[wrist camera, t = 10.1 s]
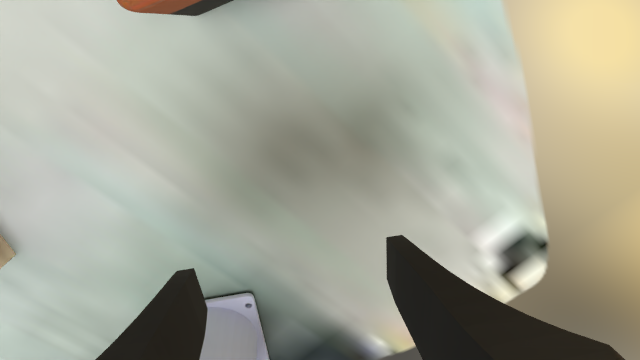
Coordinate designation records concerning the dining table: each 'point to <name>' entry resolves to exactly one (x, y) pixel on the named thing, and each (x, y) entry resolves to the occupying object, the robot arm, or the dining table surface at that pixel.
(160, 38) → the dining table surface
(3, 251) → the maple block
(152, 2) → the battery
